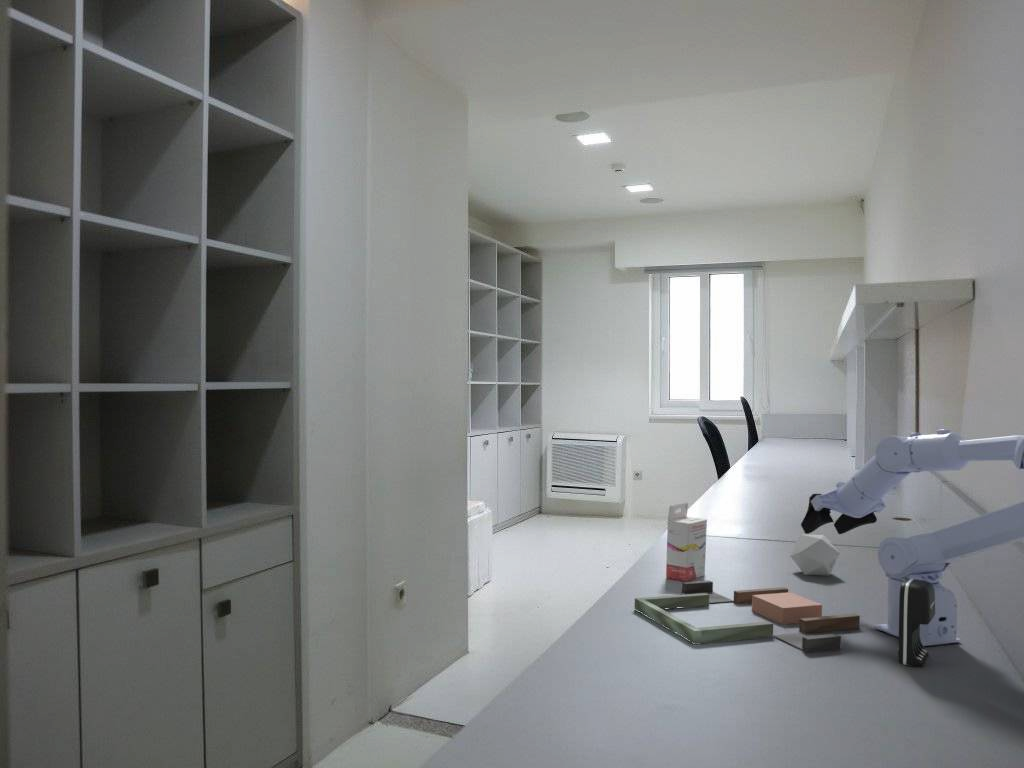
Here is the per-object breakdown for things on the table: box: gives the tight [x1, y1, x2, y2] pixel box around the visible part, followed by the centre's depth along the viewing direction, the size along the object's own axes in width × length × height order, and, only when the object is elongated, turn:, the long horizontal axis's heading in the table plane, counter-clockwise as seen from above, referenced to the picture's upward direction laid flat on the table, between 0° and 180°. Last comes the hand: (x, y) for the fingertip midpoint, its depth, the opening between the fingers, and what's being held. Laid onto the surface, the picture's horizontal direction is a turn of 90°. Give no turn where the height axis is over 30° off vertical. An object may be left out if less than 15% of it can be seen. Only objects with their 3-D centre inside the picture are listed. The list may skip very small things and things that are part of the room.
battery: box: [897, 578, 935, 668], centre depth 108 cm, size 7×4×11 cm, turn 143°
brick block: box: [751, 591, 823, 625], centre depth 130 cm, size 8×8×3 cm
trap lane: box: [634, 580, 861, 654], centre depth 127 cm, size 34×31×2 cm
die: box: [790, 533, 840, 577], centre depth 161 cm, size 8×9×10 cm
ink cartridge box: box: [665, 502, 708, 582], centre depth 155 cm, size 9×5×15 cm, turn 141°
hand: (821, 529), depth 139 cm, fingers open, 7 cm apart
